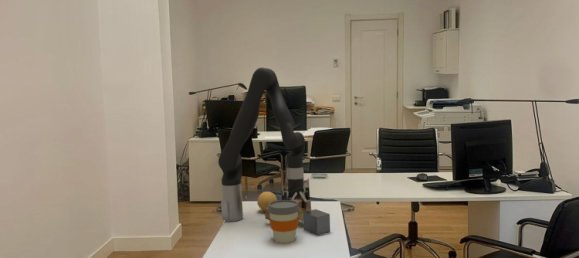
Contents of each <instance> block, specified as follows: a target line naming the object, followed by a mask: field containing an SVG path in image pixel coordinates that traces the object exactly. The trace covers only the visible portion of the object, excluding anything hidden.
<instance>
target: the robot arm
mask: <svg viewBox="0 0 579 258" xmlns="http://www.w3.org/2000/svg"><path fill="white" fill-rule="evenodd" d="M265 92H266V93H267V95H268V98H269V99H270V103H271V108H272V113H273V116H274V118H275V121H276V123H277V125H278V127H279V130H280V135H281V139H282V143H283V145H284V146H285V147H286V148H287V149H289V150H290V152H289V154H288V155H287V157H286V158H287V159H286V161H287V162H286V163H287V164H286V165H287V168H286V180H287V187H288V191H286V190H285V191H284V190H282V191H281V200H292V201H293V200H295V199H299V198H300V199H301V200H302V208H304V209H306V202H307V200H311V195H310V194H311V192H310V186H309V187H304V178H305V177H304V174H305V173H304V164H303V163H304V161H303V157H304V153H305V152H304V151H305V147H306V146H305V145H306V138H305V136H304V135H303V133H302V132H300V131H296V132H295V131H294V126H295V121H294V118H293V116H292V115H291V112H290V110H289V108H288V106H287V104H286V101H285V98H284V96H283V94H282V90H281V87H280V84H279V80H278V77H277V74H276V72H275V71H274V70H272V68H271V69H270V68H268V67H258V68H256V69H255V71H254V72H253V74H252V76H251V79H250V82H249V85H248V89H247V92H246V95H245V97H244V100H243V102H242V104H241V106H240V109H239V110H238V114H237V115H236V118H235V120H234V123H233V126H232V129H231V131H230V135H229V136H228V137H229V138H228V139H227V141H226V143H225V146H224V147H223V150H222V151H221V153H220V154H219V157H218V160H217V161H218V163H217V164H218V166H219V168H220V169H221V170H222V171H223V173H222V177H221V192H222V193H221V196H222V197H221V198H222V199H221V200H220V203H221V204H220V205H221V206H220V208H221V220H223V221H225V222H227V223H230V222H238V221H242V220H243V219H244V209H243V207H244V206H243V191H242V176H243V163H242V161H243V159H242V156H241V151H242V149H243V146H244V145H245V143H246V142H247V140H248V139H249V137H250V135H251V134H252V133H253V130H254V129H255V127H256V124H257V121H258V118H259V117H260V116H259V115H260V107H261V106H260V105H261V101H262V98H263V95H264V93H265ZM303 187H304V188H303ZM303 192H304V193H305V196H304V195H303ZM287 196H288V197H287ZM290 198H291V199H290Z"/></svg>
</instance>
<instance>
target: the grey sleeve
mask: <svg viewBox="0 0 579 258" xmlns="http://www.w3.org/2000/svg"><path fill="white" fill-rule="evenodd" d="M303 221H304V222H303V231H305V232H307V233H310V234H312V235H314V236H316V237H317V236H323V235H325V234H329V233H331V216H330V213H329V212H328V213H327V212H326V211H321V210H319V209H316V208H314V209H311V211H307V212H303Z"/></svg>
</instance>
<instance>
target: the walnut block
mask: <svg viewBox="0 0 579 258" xmlns="http://www.w3.org/2000/svg"><path fill="white" fill-rule="evenodd" d="M293 201H296V202H297V203H298V207H301V208H302V200H298V199H297V200H293ZM306 209H307V210H310V211H311V210H312V201H311V199H310V200H307V202H306ZM268 210H269V207H267V208H265V211H264V213H265V214H264V216H265V217H264V218H265V220H267V221H270V219H269V218H270V213H269V211H268Z"/></svg>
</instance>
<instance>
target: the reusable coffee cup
mask: <svg viewBox="0 0 579 258" xmlns="http://www.w3.org/2000/svg"><path fill="white" fill-rule="evenodd" d="M268 211H269V213H270V218H269V219H270V220H269V223H270V224H269V225H270V229H271V230H272V235H273V240H275V242H276V243H278V242H280V243H279V244H288V243H292V241H293V242H294V241H296V237H297V229H298V226H299V220H298V211H299V207H298V203H297V202H296V201H292V200H282V199H279V200H278V199H277V201H274V202H271V203H270V204H269V210H268Z"/></svg>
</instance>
